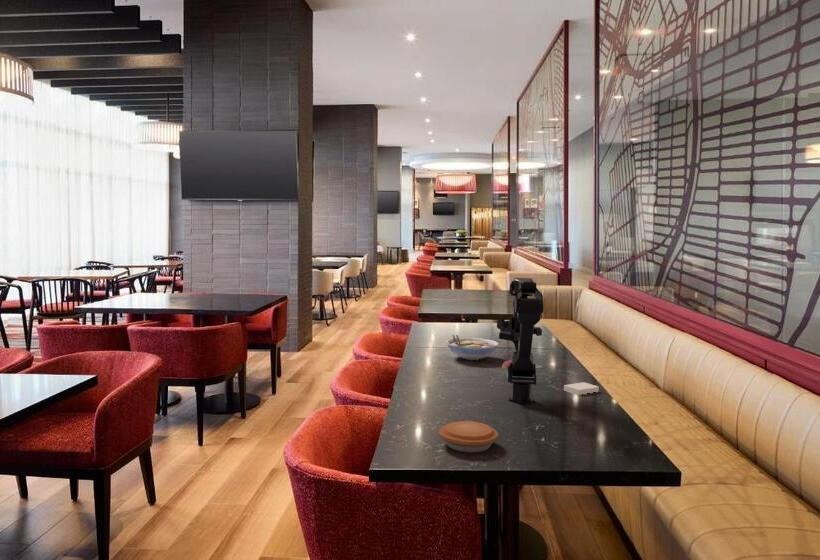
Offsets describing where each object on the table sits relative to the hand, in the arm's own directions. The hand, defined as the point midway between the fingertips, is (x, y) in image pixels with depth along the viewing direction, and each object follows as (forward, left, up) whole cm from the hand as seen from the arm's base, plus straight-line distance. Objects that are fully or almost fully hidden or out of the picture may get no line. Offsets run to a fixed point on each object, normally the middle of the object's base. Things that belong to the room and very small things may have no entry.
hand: (519, 357), depth 216 cm
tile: (+12, -14, -11) cm, 21 cm away
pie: (-56, -22, -12) cm, 61 cm away
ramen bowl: (+29, +44, -12) cm, 54 cm away
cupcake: (+14, +12, -12) cm, 22 cm away
